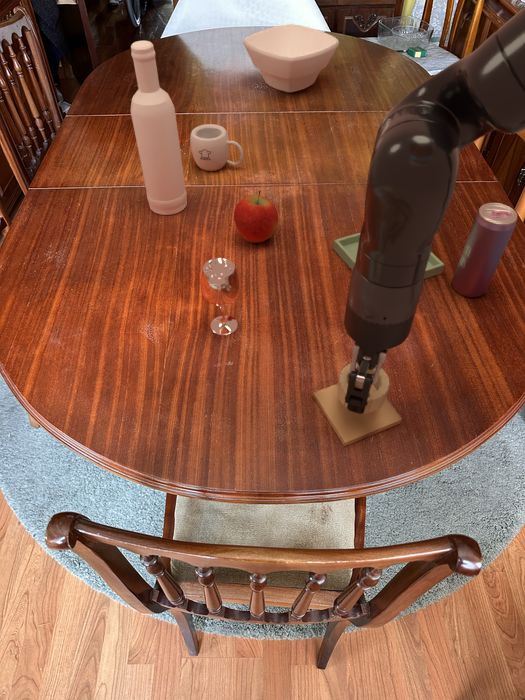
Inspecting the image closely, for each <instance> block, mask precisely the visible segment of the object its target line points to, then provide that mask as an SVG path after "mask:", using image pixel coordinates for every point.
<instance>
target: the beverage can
mask: <svg viewBox="0 0 525 700" xmlns="http://www.w3.org/2000/svg"><path fill="white" fill-rule="evenodd" d="M517 220H518V213H517V212H516V210H515V209H513V208H512V207H511V206H508V205H507V204H504V203H500V202H499V203H498V202H488V203H484V204H482V205H481V206H480V207H479V209H478V211H477V212H476V213H475V216H474V218H473V222H472V224H471V226H470V229H469V232H468V235H467V237H466V240H465V242H464V245H463V248H462V250H461V254H460V257H459V259H458V263H457V265H456V267H455V271H454V273H453V276H452V279H451V284H452V287H453V289H454V290H455V292H456V293H458V295H462V296H464V297H467V298H477V297H481V296H482V295H484V294H485V293H487V291H488V290H489V287H490V285H491V282H492V280H493V278H494V276H495V273H496V272H497V268H498V266H499V264H500V261H501V259H502V257H503V255H504V253H505V250H506V248H507V246H508V244H509V241H510V239H511V237H512V235H513V232H514V230H515V228H516V225H517Z"/></svg>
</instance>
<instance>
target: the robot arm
mask: <svg viewBox="0 0 525 700" xmlns="http://www.w3.org/2000/svg"><path fill="white" fill-rule="evenodd" d="M524 130H525V6H524V7H523V8H522V9H521V10H519V11H518V12H517V13H516V14H515V15H513V16H512V17H511V18H510V19H508V20H507V21H506V22H505V23H503V25H501V26H500V27H499V28H498V29H497V30H496V31H494V32H493V33H492V34H491V35H490V36H489V37H488V38H486V40H484V41H483V43H481V44H480V45H479V46H478V47H477V48H476V49H474V50H473V51H472V52H470V53H469V54H468V55H466V56H464V57H463V58H460V59H458V60H457V61H455V62H453V63H452V64H450V65H448V66H446V67H445V68H444V69H441V70H440V71H439V72H437V73H436V74H434V75H432V76H431V77H429V78H428V79H426V80H425V81H423V82H422V83H421V84H419V85H417V86H416V87H414V88H413V89H412V90H411V91H409V92H408V93H406V95H404V96H403V97H402V98H401V99H400V100H399V101H398V102H397V103H396V104H394V106H393V107H392V108H391V109H390V110H389V111H388V112H387V114H386V115H385V116H384V118H383V119H382V121H381V123H380V125H379V126H378V129H377V133H376V137H375V141H374V146H373V150H372V154H371V157H370V162H369V168H368V173H367V181H366V188H365V189H366V190H365V200H364V212H363V213H364V214H363V222H362V225H361V229H360V232H359V233H360V238H359V243H358V250H357V256H356V262H355V266H354V268H353V271H352V270H351V271H352V272H351V274H350V275H351V276H350V279H349V285H348V292H347V297H346V304H345V305H346V306H345V311H344V319H343V325H344V330H345V332H346V333H347V335H348V337H350V339H351V340H353V342H354V343H353V345H352V346H353V347H352V351H351V355H352V359H351V367H350V371H349V377H348V378H349V382H348V388H347V394H346V396H345V403H348V405H347V409H348V410H349V411H351V412H355V413H358V414H363V413H364V410H365V407H366V406H367V404H368V402H367V400H368V397H369V398H370V390H371V386H372V385H373V384H376V382H377V380H378V376H379V373H380V369H381V368H382V365H383V364H384V363H385V361H386V359H387V354H388V351H389V350H391V349H393V348H394V349H395V348H396V347H398V346H400V345H401V344H403V343H404V342H405V341H406V340H407V339H408V337H409V335H410V333H411V329H412V326H413V323H414V319H415V316H416V312H417V309H418V306H419V303H420V300H421V296H422V292H423V289H424V288H423V287H424V280H425V279H424V274H425V270H426V267H427V263H428V260H429V256H430V253H431V252H432V249H433V245H434V241H435V240H434V239H435V236H436V234H437V232H438V230H439V228H440V226H441V225H442V224H441V223H442V222H443V219H444V217H445V215H446V213H447V210H448V207H449V206H450V203H451V200H452V197H453V193H454V191H455V188H456V185H457V181H458V176H459V170H460V152H461V151H462V150H464V149H465V148H466V147H468V146H470V144H472V143H473V142H475V141H477V140H479V139H481V138H482V137H484V136H486V135H488V134H490V133H493V131H497V132H498V133H502V134H505V135H513V134H518V133H520V132H522V131H524ZM357 363H358V365H359V367H360V368H359V370H357V369H356V364H357ZM376 365H377V366H376ZM375 367H376V370H375V373H374V374H369V373H367V372H368V370H373V369H375Z"/></svg>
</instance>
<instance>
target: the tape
mask: <svg viewBox="0 0 525 700" xmlns="http://www.w3.org/2000/svg"><path fill="white" fill-rule="evenodd" d="M351 363H352V362H351ZM351 363H347V364H346V365H345V366H344V368H342V370H341V371H340V372H339V377H338V382H337V384H338V398H339V399H340V401H341V402H342V404H343V405H345V407H347V405H348V403H345V396H346V394H347V388H348V382H349V378H348V377H349V371H350V367H351ZM376 366H377V365H376ZM359 368H360V367H359V365H358V363H357V364H356V369H357V370H359ZM375 370H376V367H375V369H373V370H368V372H367V373H369V374H374V373H375ZM373 385H374V386H375V388H376V389H377V390H378V391H376V392H374V393H371V394H370V398H369V397H368V400H367V402H368V404H367V406H366V407H365V410H364V413H368V412H369V413H371V412H373V411H376V410H378V409H379V408H381V406H382V405H383V404H384V402H385V400H386V398H387V396H388V393H389V389H390V377H389V375H388V374H387V373H386V371H385V370H384V368H382V367H381V369H380V373H379V376H378V380H377V382H376V384H373Z"/></svg>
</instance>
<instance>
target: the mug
mask: <svg viewBox="0 0 525 700" xmlns="http://www.w3.org/2000/svg"><path fill="white" fill-rule="evenodd" d="M189 142H190V151H191V155H192V157H193V160H194V162H195V164H196V165H197V166H198V168H200V169H201V170H203V171H207V172H215V171H219V170H221V169H222V168H224V167H225V165H226V164H228V165H230V166H233V167H237V166H240V165H241V164H243V161H244V150H243V148H242V146H241V144H240V143H238V141H235V140H230V139H229V134H228V131H227V130H226V128H225V127H223V126H221V125H220V124H214V123H213V124H212V123H206V124H200V125H198V126H196V127H194V128H193V129H192V130H191V133H190V138H189ZM230 145H234V146H235V147H236V148H237V149H238V151H239V160H238V161H237V162H234V161H231V160H230V159H229V153H230Z"/></svg>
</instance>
